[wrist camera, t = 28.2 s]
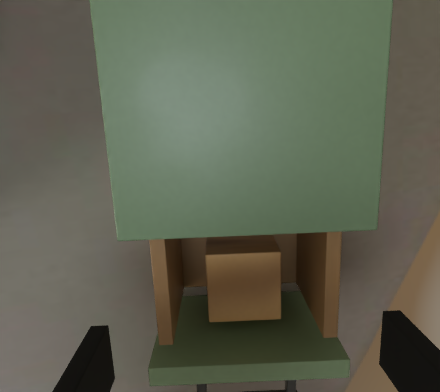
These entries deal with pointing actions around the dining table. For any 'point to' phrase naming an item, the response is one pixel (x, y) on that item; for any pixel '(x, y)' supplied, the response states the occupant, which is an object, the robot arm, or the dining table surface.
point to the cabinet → (243, 114)
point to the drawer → (248, 330)
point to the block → (243, 278)
